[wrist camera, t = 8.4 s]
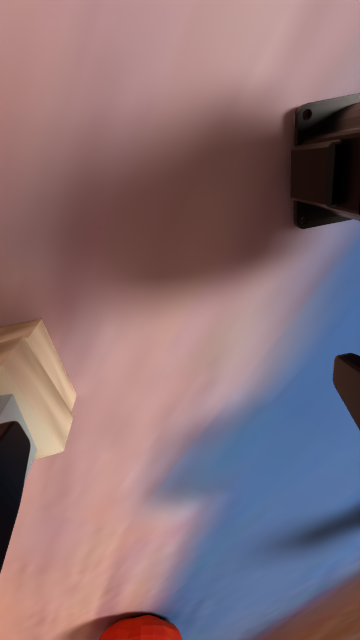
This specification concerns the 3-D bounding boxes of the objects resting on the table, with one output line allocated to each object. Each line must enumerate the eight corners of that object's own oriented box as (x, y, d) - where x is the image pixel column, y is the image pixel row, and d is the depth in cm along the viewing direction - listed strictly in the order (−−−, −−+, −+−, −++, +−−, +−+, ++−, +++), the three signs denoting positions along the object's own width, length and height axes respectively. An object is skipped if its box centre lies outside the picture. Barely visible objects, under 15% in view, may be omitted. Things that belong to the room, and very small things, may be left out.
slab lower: (43, 315, 21) (28, 337, 18) (77, 391, 24) (69, 419, 21) (-55, 335, 21) (-85, 360, 18) (-7, 408, 24) (-27, 438, 21)
